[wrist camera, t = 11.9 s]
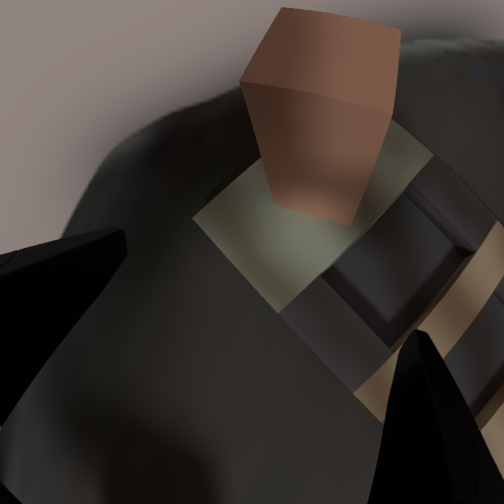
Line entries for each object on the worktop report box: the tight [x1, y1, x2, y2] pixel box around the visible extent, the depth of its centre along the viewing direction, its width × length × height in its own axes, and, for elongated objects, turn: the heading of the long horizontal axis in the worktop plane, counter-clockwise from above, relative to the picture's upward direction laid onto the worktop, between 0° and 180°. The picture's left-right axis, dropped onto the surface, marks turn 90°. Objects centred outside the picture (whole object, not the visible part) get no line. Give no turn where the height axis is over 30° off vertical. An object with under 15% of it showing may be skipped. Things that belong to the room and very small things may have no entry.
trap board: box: [192, 119, 504, 479], centre depth 16 cm, size 14×30×2 cm, turn 42°
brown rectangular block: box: [240, 7, 401, 226], centre depth 13 cm, size 4×4×10 cm
